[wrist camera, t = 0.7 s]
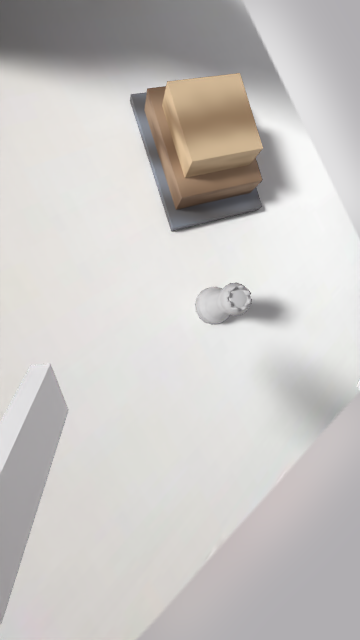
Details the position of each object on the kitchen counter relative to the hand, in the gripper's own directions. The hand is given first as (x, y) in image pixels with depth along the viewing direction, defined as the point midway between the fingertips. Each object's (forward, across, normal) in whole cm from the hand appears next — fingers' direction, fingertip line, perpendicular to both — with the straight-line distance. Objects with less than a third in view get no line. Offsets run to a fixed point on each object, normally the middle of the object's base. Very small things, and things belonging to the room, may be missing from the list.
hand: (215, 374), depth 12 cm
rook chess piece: (+21, +3, -10) cm, 24 cm away
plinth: (+32, +3, +6) cm, 32 cm away
